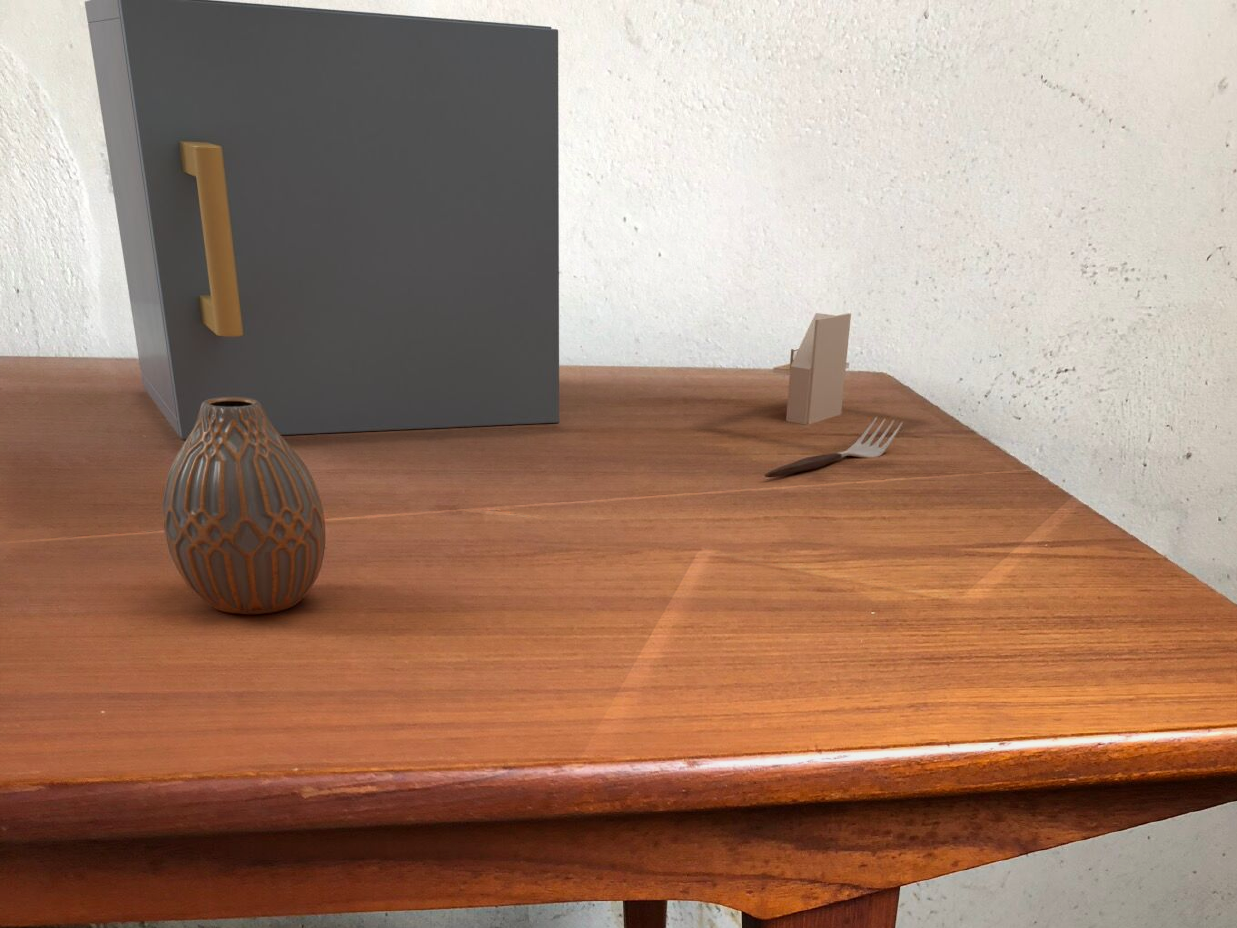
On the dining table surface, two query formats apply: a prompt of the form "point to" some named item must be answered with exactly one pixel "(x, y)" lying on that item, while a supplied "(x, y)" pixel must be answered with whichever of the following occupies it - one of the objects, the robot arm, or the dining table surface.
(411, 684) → the dining table surface
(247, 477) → the vase
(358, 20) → the cupboard door
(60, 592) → the dining table surface
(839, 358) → the architectural model
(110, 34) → the cupboard
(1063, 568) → the dining table surface
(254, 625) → the dining table surface
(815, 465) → the fork
